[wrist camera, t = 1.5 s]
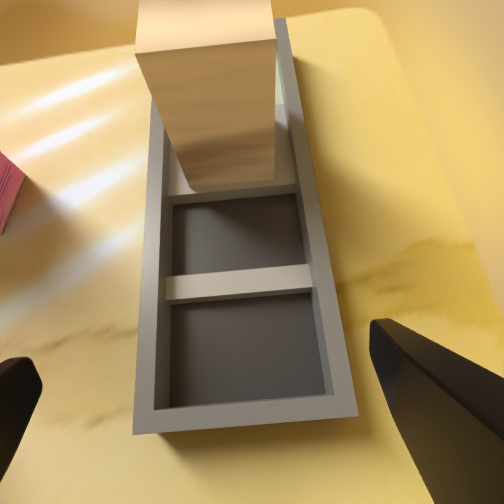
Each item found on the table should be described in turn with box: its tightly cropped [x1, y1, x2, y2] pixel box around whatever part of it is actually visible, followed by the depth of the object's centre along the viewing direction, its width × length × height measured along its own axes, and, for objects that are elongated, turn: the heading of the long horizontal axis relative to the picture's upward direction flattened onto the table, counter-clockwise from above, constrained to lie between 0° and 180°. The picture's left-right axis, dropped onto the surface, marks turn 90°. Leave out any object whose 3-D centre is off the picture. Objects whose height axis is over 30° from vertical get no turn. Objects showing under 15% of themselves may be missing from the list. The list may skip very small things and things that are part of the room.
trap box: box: [132, 18, 359, 435], centre depth 23 cm, size 30×11×3 cm, turn 4°
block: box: [135, 0, 276, 188], centre depth 19 cm, size 6×6×10 cm
